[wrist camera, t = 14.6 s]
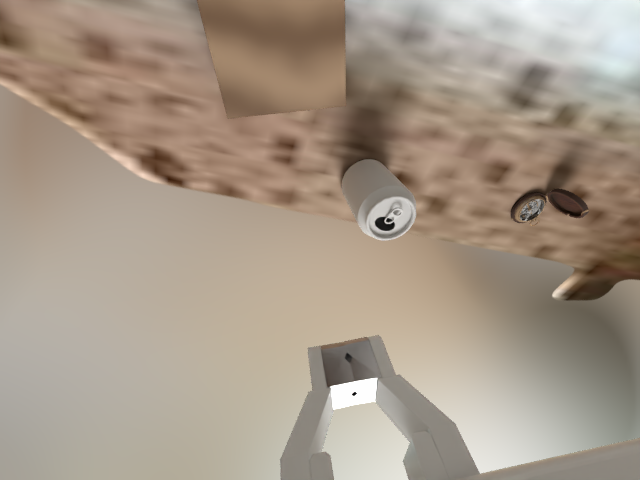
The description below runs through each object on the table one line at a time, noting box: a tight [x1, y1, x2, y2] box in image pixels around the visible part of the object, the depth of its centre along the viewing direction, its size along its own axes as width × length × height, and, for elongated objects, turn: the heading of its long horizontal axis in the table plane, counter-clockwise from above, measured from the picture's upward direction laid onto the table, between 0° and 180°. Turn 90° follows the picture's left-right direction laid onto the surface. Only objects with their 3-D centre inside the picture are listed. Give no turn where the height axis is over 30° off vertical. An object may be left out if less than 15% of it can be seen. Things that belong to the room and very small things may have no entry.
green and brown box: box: [197, 0, 346, 119], centre depth 26 cm, size 14×12×7 cm
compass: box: [511, 189, 589, 226], centre depth 46 cm, size 8×8×7 cm
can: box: [342, 159, 416, 240], centre depth 36 cm, size 8×8×12 cm
